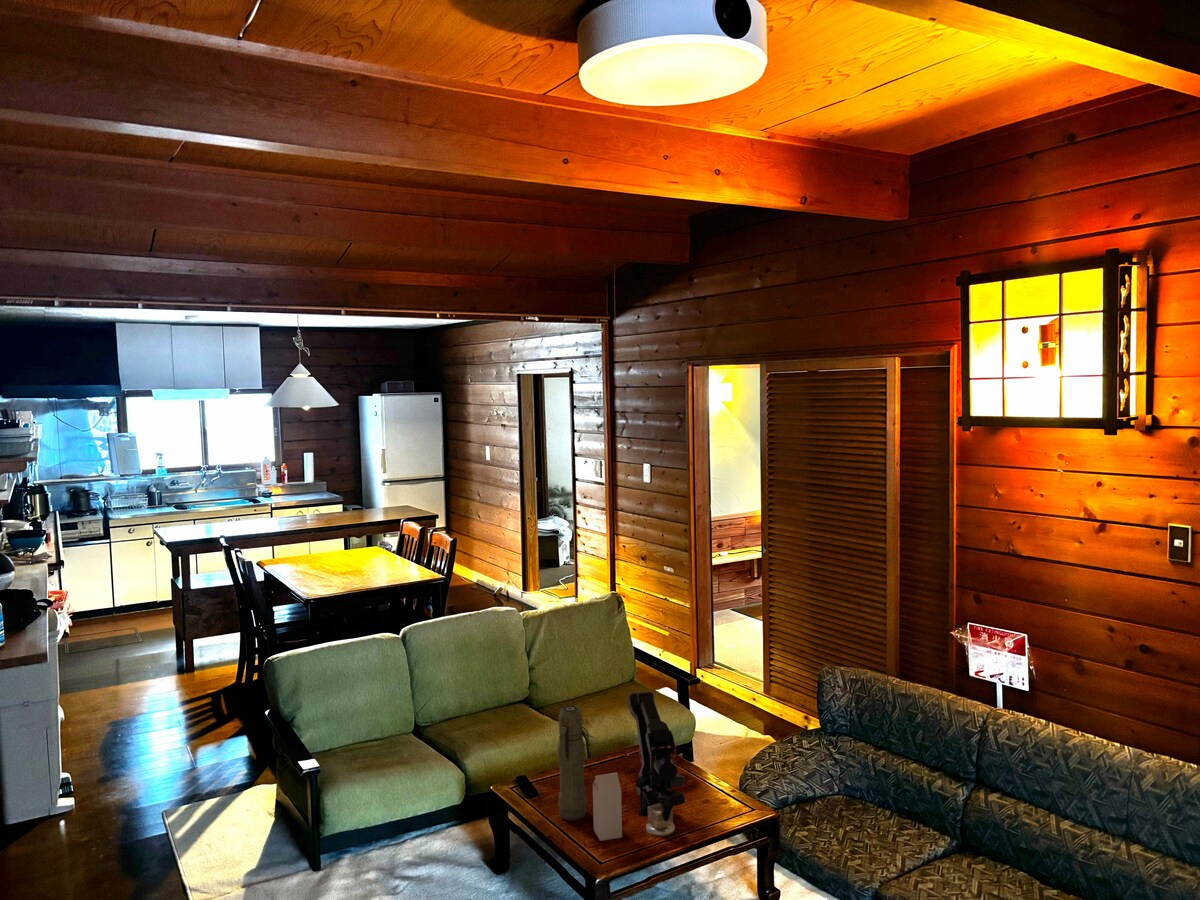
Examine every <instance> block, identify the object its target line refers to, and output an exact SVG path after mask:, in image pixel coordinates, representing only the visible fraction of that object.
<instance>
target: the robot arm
mask: <svg viewBox="0 0 1200 900" xmlns="http://www.w3.org/2000/svg"><path fill="white" fill-rule="evenodd" d="M655 703H656V702H655V695H654V693H653V692H652V691H639V692H638V691H637V692H630V693H629V695H628V696H627V697H626V705H627V708H628V709H629V714H630V715H631V716H632V717H633V719H634V720H635V723H636V728H637V729H636V730H637V736H638V737H637V738H638V744H639V745H640V752H641V759H642V764H641V768H640V770H639V773H638V777H637V778H636V779H635V788H636V789H635V791H636V793H637V795H638V797H639V806H640V807H639V810H638V811H637V812H638V814H639V815H643V816H648V806H651V805H655V804H658V803H659V804H660V807H661V811H662V814H663V818H664V820H665V821H668V819H669V816H670V813H671V810H672V809H673V808H674V807H677V806H679V805H683V804H685V803H686V796H685V795H684V794H683V793H682V792H681V791H679V790H677V789H674V787H679V788H683V786H684V783H685V779H686V778H685V776H684V775H682V774H680V773H678V768H677V767H676V765H675V762H674V763H673V762H672V760H671V758H670V754H675V750H674V749H675V748H676V749H677V746H676V747H675V743H676V741H675V739H674V734H673V732H672V731H671V730H670V728H669V726H668V724H667V723H666V722H664V721H662V718H661V717H660V714H659V712H658V708H657V706H656V704H655ZM674 741H675V742H674ZM669 744H670V747H669ZM664 746H668V747H669V748H664ZM675 755H676V754H675ZM669 789H671V791H670V790H669ZM672 789H674V790H672Z"/></svg>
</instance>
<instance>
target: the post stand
mask: <svg viewBox="0 0 1200 900" xmlns="http://www.w3.org/2000/svg"><path fill="white" fill-rule="evenodd" d="M645 830H646V833H647V834H649V835H650V836H655V837H667V836H670V835H673V834H674V833H675V831H676V826H675V823H673V825H670V826H667V827H664V828H661V829H657V828H655V827H654V826H653V825H651V824H650V823H648V822H647V823H645Z"/></svg>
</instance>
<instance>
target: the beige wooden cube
mask: <svg viewBox="0 0 1200 900" xmlns="http://www.w3.org/2000/svg"><path fill="white" fill-rule="evenodd" d="M673 810H674V809H673V808H672V810H671V813H670V816H669V819H668V821H665V820H664V818H663V814H662V811H661V807H660V804H659V803H658V804H655V805H651V806H648V815H647V823H650V824H651V825H653V826H654V827H655V828H657V829H661V828H664V827H667V826H670V825H673V824H674V811H673Z"/></svg>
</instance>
